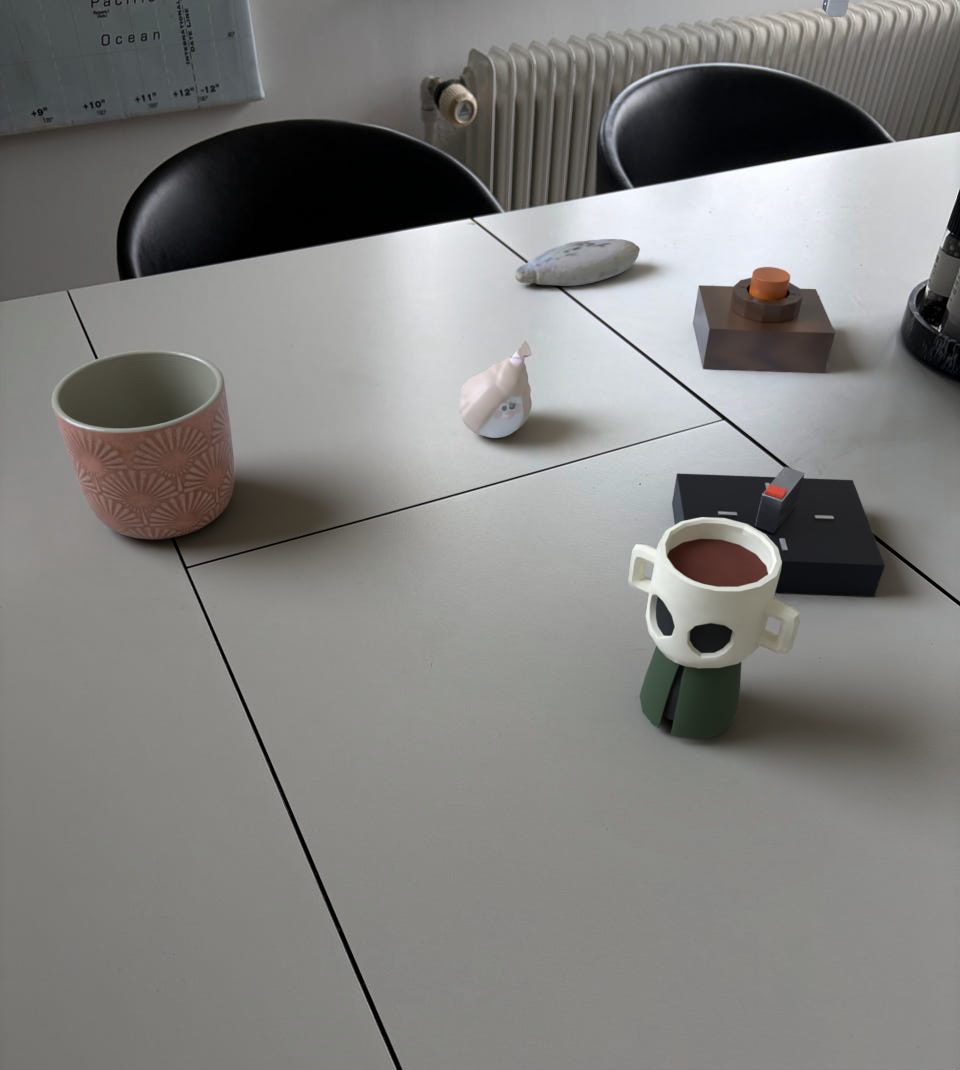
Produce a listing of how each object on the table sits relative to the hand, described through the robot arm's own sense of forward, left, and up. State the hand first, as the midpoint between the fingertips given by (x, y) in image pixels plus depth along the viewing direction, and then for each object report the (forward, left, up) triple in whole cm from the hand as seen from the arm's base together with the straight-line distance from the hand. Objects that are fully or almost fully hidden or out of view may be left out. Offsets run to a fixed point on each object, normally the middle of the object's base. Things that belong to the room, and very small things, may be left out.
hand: (832, 13), depth 98 cm
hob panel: (+8, +48, -27) cm, 56 cm away
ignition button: (+4, +14, -22) cm, 26 cm away
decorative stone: (+22, -2, -27) cm, 35 cm away
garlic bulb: (+30, +32, -27) cm, 52 cm away
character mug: (+16, +66, -27) cm, 73 cm away
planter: (+56, +46, -27) cm, 77 cm away
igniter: (+4, +14, -27) cm, 31 cm away
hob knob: (+8, +48, -24) cm, 54 cm away
